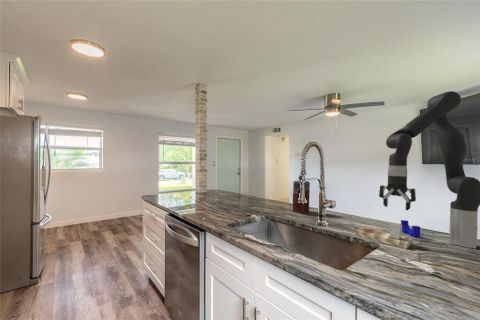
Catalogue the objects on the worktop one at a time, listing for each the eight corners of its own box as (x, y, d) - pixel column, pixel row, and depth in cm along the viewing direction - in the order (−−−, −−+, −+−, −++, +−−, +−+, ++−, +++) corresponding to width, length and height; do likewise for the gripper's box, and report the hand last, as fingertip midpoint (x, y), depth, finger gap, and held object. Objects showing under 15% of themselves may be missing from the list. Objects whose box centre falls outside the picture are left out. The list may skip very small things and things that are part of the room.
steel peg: (401, 243, 103) (402, 224, 103) (399, 245, 100) (399, 226, 100) (391, 240, 106) (392, 222, 106) (389, 242, 103) (389, 224, 103)
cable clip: (397, 230, 124) (398, 219, 124) (406, 230, 123) (406, 220, 123) (410, 237, 112) (410, 226, 112) (419, 238, 111) (420, 226, 111)
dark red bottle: (290, 211, 160) (291, 174, 160) (298, 209, 167) (299, 174, 167) (301, 214, 153) (302, 175, 153) (309, 212, 161) (310, 175, 161)
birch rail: (412, 244, 102) (412, 238, 102) (406, 249, 96) (406, 243, 96) (363, 231, 119) (363, 226, 119) (355, 234, 113) (355, 229, 113)
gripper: (418, 176, 100) (416, 210, 100) (383, 173, 111) (382, 204, 111) (413, 176, 95) (412, 212, 95) (377, 174, 106) (376, 206, 106)
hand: (396, 208), depth 103 cm, fingers open, 8 cm apart
